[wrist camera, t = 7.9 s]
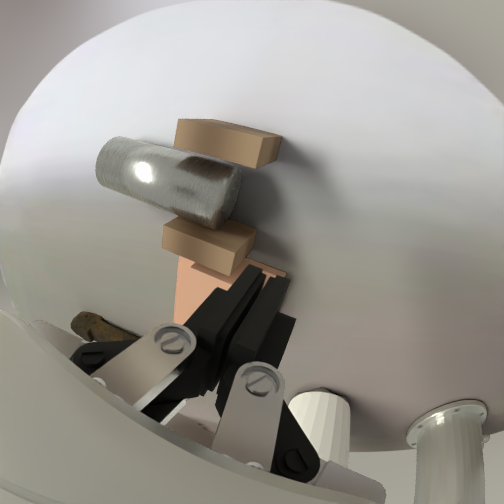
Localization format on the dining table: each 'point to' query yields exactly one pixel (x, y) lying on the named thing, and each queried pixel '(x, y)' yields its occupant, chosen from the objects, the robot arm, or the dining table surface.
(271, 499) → the robot arm
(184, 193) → the axle
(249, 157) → the channel block
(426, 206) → the dining table surface
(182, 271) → the cradle
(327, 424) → the cup
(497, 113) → the dining table surface
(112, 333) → the hand tool
